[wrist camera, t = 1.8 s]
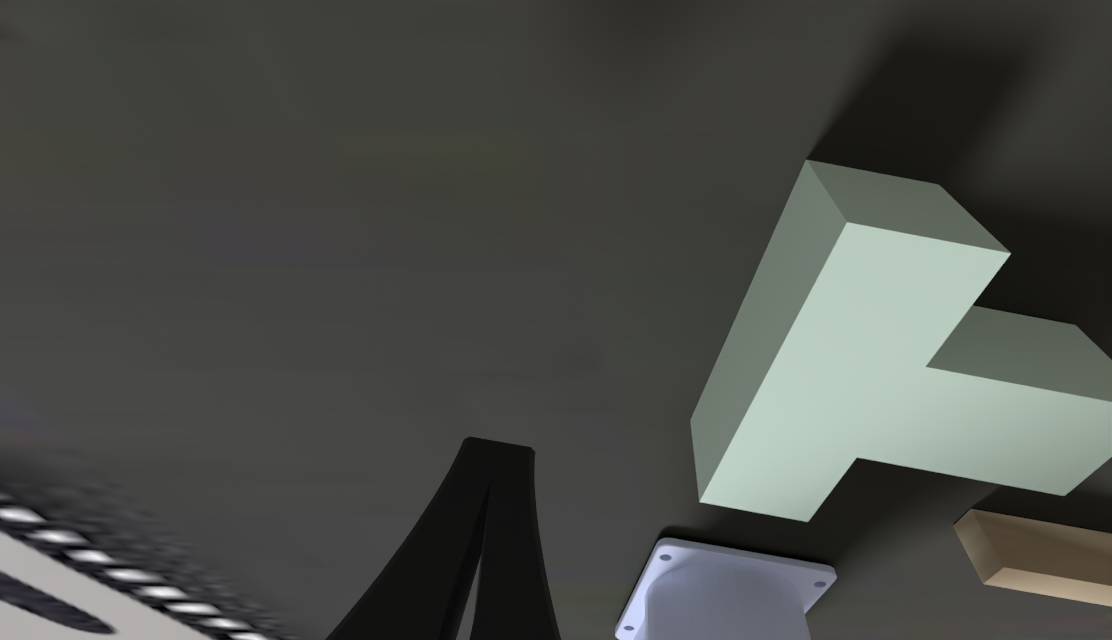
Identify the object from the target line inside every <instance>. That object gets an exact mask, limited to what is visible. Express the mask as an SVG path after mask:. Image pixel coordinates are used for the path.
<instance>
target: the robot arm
mask: <svg viewBox="0 0 1112 640" xmlns="http://www.w3.org/2000/svg"><path fill="white" fill-rule="evenodd" d="M534 460H535V451H534V450H533V449H532V448H531V447H526V446H521V445H515V444H509V443H503V442H498V441H492V440H486V439H480V438H475V437H468V438H466V439H464V441H463V443H462V445H461V448H460V450H459V452H458V454H457V456H456V458H455V460H454V462H453V464H452V466H451V468H450V470H449V472H448V473H447V475H446V477H445V479H444V480H443V482H442V484H441V485H440V487H439V489H438V491H437V492H436V494H435V496H434V497H433V499H432V500H431V502H430V503H429V505H428V506H427V508H426V509H425V511H424V512H423V514H422V516H421V517H420V519H419V520H418V522H417V523H416V525H415V526H414V528H413V529H412V531H411V532H410V534H409V535H408V536H407V538H406V539H405V541H404V542H403V543H402V545H401V546H400V547H399V549H398V550H397V551H396V553H395V554H394V556H393V557H392V558H391V560H390V561H389V562H388V564H387V565H386V566H385V568H384V569H383V570H382V572H381V573H380V574H379V576H378V577H377V578H376V580H375V581H374V582H373V583H372V585H371V586H370V587H369V588H368V590H367V591H366V592H365V593H364V595H363V596H362V597H361V598H360V600H359V601H358V602H357V603H356V604H355V606H354V607H353V608H352V609H351V610H350V612H349V613H348V614H347V615H346V616H345V618H344V619H343V620H342V621H341V622H340V623H339V625H338V626H337V627H336V628H335V629H334V630H333V632H332V633H331V634H330V635H329V636H328V637H327V638H326V639H325V640H456V637H457V634H458V630H459V627H460V624H461V620H462V617H463V613H464V610H465V607H466V603H467V600H468V597H469V593H470V590H471V586H472V583H473V580H474V576H475V573H476V570H477V566H478V563H479V559H480V556H481V561H480V570H479V578H478V587H477V596H476V604H475V613H474V621H473V626H472V631H471V636H470V640H561V638H560V634H559V630H558V626H557V622H556V618H555V614H554V609H553V605H552V600H551V596H550V591H549V586H548V582H547V576H546V571H545V566H544V560H543V554H542V548H541V541H540V535H539V528H538V520H537V511H536V500H535V486H534ZM836 578H837V576H836V573H835V570H834V568H833V567H831V566H829V565H824V564H818V563H813V562H807V561H801V560H796V559H790V558H784V557H778V556H773V555H767V554H761V553H755V552H750V551H744V550H738V549H732V548H727V547H721V546H715V545H710V544H704V543H698V542H692V541H687V540H681V539H675V538H662V539H660V540H659V541H658V542H657V544H656V546H655V548H654V550H653V552H652V554H651V556H650V558H649V560H648V562H647V564H646V566H645V568H644V570H643V572H642V575H641V577H640V579H639V581H638V583H637V585H636V587H635V589H634V591H633V593H632V595H631V597H630V599H629V601H628V603H627V605H626V607H625V610H624V612H623V614H622V616H621V618H620V620H619V622H618V624H617V626H616V628H615V636H616V637H617V638H618V639H620V640H811V637H810V633H809V629H808V625H807V621H806V617H805V613H806V612H807V611H808V610H809V609H810V608H811V606H812V605H813V604H814V603H815V602H816V601H817V600H818V599H819V598H820V597H821V595H822V594H823V593H824V592H825V591H826V590H827V589H828V588H829V587H830V586H831V585H832V583H833V582H834V581H835V580H836Z"/></svg>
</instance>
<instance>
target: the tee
mask: <svg viewBox="0 0 1112 640" xmlns="http://www.w3.org/2000/svg"><path fill="white" fill-rule="evenodd" d="M1010 254H1011V253H1010V252H1009V251H1008V250H1007V249H1006V248H1005V247H1004V246H1003V245H1002V244H1001V243H1000V242H999V241H998V240H996V239H995V238H994V237H993V236H992V235H991V234H990V233H989V232H988V231H987V230H986V229H985V228H984V227H983V226H982V225H981V224H980V223H979V222H978V221H977V220H975V219H974V218H973V217H972V216H971V215H970V214H969V213H968V212H967V211H966V210H965V209H964V208H963V207H962V206H961V205H960V204H959V203H958V202H957V201H955V200H954V199H953V198H952V197H951V196H950V195H949V194H948V193H947V192H946V191H945V190H944V189H943V188H942V187H941V186H940V185H938V184H933V183H928V182H923V181H917V180H912V179H907V178H902V177H896V176H891V175H886V174H880V173H875V172H870V171H864V170H859V169H854V168H849V167H843V166H838V165H833V164H827V163H822V162H817V161H811V160H806V161H805V163H804V165H803V168H802V170H801V172H800V174H799V177H798V179H797V181H796V183H795V186H794V188H793V190H792V192H791V195H790V197H789V199H788V201H787V204H786V206H785V208H784V210H783V213H782V215H781V217H780V219H779V222H778V224H777V226H776V228H775V231H774V233H773V235H772V237H771V240H770V242H769V244H768V246H767V249H766V251H765V253H764V256H763V258H762V260H761V262H760V265H759V267H758V269H757V271H756V274H755V276H754V278H753V280H752V283H751V285H750V287H749V289H748V292H747V294H746V296H745V298H744V301H743V303H742V305H741V307H740V310H739V312H738V314H737V316H736V319H735V321H734V323H733V325H732V328H731V330H730V332H729V334H728V337H727V339H726V341H725V343H724V346H723V348H722V350H721V352H720V355H719V357H718V359H717V361H716V364H715V366H714V368H713V370H712V373H711V375H710V377H709V380H708V382H707V384H706V386H705V389H704V391H703V393H702V395H701V398H700V400H699V402H698V404H697V407H696V409H695V411H694V413H693V416H692V418H691V420H690V422H691V431H692V440H693V449H694V458H695V467H696V476H697V485H698V494H699V502H702V503H708V504H713V505H718V506H724V507H729V508H735V509H740V510H745V511H751V512H756V513H762V514H767V515H772V516H778V517H783V518H789V519H794V520H799V521H805V522H808V521H809V520H810V519H811V517H812V516H813V515H814V513H815V512H816V511H817V509H818V508H819V507H820V505H821V504H822V503H823V501H824V500H825V499H826V497H827V496H828V495H829V494H830V492H831V491H832V490H833V488H834V487H835V486H836V484H837V483H838V482H839V480H840V479H841V478H842V476H843V475H844V474H845V472H846V471H847V470H848V468H849V467H850V466H851V464H852V463H853V462H854V460H855V459H856V458H857V457H858V458H863V459H868V460H874V461H879V462H884V463H890V464H895V465H900V466H906V467H911V468H916V469H922V470H927V471H933V472H938V473H943V474H949V475H954V476H959V477H965V478H970V479H975V480H981V481H986V482H991V483H997V484H1002V485H1008V486H1013V487H1018V488H1024V489H1029V490H1034V491H1040V492H1045V493H1050V494H1056V495H1061V496H1065V495H1067V494H1068V493H1069V492H1070V491H1071V490H1073V489H1074V488H1075V487H1076V486H1077V485H1078V484H1080V483H1081V482H1082V481H1083V480H1084V479H1086V478H1087V477H1088V476H1089V475H1090V474H1092V473H1093V472H1094V471H1095V470H1096V469H1098V468H1099V467H1100V466H1101V465H1102V464H1104V463H1105V462H1106V461H1107V460H1108V459H1109V458H1111V457H1112V360H1111V359H1110V358H1109V357H1108V356H1107V355H1106V354H1105V353H1104V352H1103V351H1102V350H1101V349H1100V348H1099V347H1098V346H1097V345H1096V344H1095V343H1094V342H1093V341H1091V340H1090V339H1089V338H1088V337H1087V336H1086V335H1085V334H1084V333H1083V332H1082V331H1081V330H1080V329H1079V328H1078V327H1077V326H1076V325H1073V324H1067V323H1062V322H1057V321H1052V320H1046V319H1041V318H1036V317H1031V316H1025V315H1020V314H1015V313H1009V312H1004V311H999V310H994V309H988V308H983V307H978V306H973V303H974V302H975V301H976V299H977V298H978V297H979V295H980V294H981V293H982V291H983V290H984V289H985V287H986V286H987V285H988V283H989V282H990V281H991V280H992V278H993V277H994V276H995V274H996V273H997V272H998V270H999V269H1000V268H1001V266H1002V265H1003V264H1004V262H1005V261H1006V260H1007V258H1008V257H1009V256H1010Z"/></svg>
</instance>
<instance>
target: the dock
mask: <svg viewBox="0 0 1112 640" xmlns="http://www.w3.org/2000/svg"><path fill="white" fill-rule="evenodd" d="M953 527H954V529H955V531H956V533H957V535H958V536H959V538H960V540H961V542H962V544H963V546H964V548H965V550H966V552H967V554H968V556H969V558H970V560H971V561H972V563H973V565H974V567H975V569H976V571H977V573H978V575H979V577H980V579H981V581H982V583H983V584H986V585H992V586H998V587H1004V588H1009V589H1015V590H1021V591H1027V592H1032V593H1038V594H1044V595H1049V596H1055V597H1061V598H1067V599H1072V600H1078V601H1084V602H1090V603H1095V604H1101V605H1107V606H1112V534H1111V533H1105V532H1100V531H1094V530H1088V529H1083V528H1077V527H1071V526H1066V525H1060V524H1054V523H1049V522H1043V521H1037V520H1032V519H1026V518H1021V517H1015V516H1009V515H1004V514H998V513H992V512H987V511H981V510H975V509H970V510H969V511H968V512H967V513H966V514H965V515H964V516H963V517H962V518H961V519H960V520H959V521H958V522H957V523H955V524H954V525H953Z"/></svg>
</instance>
